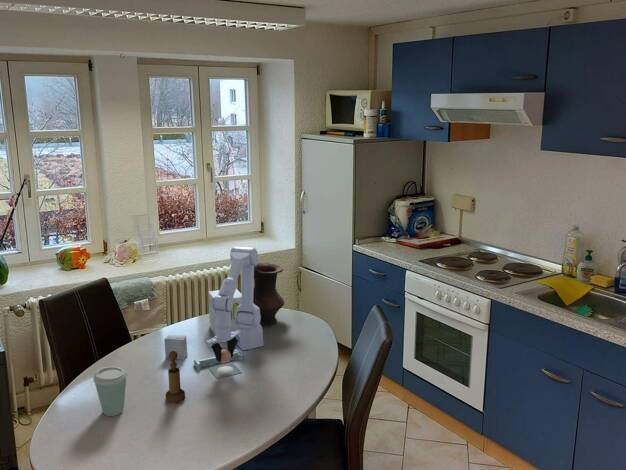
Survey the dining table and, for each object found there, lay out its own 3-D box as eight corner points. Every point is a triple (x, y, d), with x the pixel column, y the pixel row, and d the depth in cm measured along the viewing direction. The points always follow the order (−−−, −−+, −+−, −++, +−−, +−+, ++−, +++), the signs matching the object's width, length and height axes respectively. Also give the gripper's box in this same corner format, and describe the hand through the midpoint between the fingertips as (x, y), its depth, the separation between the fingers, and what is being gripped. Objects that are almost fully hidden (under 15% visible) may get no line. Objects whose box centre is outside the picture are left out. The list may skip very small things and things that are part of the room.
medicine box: (187, 354, 239) (186, 335, 237) (184, 359, 234) (183, 339, 232) (169, 354, 239) (167, 334, 237) (165, 358, 235) (164, 338, 233)
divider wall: (236, 355, 238) (236, 349, 238) (241, 360, 234) (241, 354, 234) (194, 364, 230) (193, 359, 229) (198, 369, 226) (197, 364, 225)
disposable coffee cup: (129, 401, 202) (125, 361, 199) (130, 417, 193) (127, 375, 189) (96, 406, 199) (92, 366, 195) (96, 423, 189) (92, 381, 186)
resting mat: (232, 362, 232) (232, 362, 232) (242, 372, 223) (242, 372, 223) (208, 368, 227) (208, 367, 227) (217, 378, 219) (217, 378, 219)
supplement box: (216, 337, 255) (214, 300, 251) (209, 327, 267) (207, 291, 263) (245, 333, 260) (244, 296, 256) (237, 322, 272) (236, 287, 268)
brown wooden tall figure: (168, 405, 200) (165, 357, 196) (163, 397, 205) (160, 350, 201) (187, 401, 203) (184, 353, 199) (182, 392, 208) (179, 346, 204)
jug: (260, 312, 286) (258, 253, 278) (292, 319, 277) (291, 258, 270) (233, 326, 268) (231, 264, 261) (266, 334, 259) (265, 270, 252)
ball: (225, 358, 228) (225, 346, 227) (233, 362, 224) (233, 350, 223) (215, 361, 224) (215, 349, 223) (223, 366, 221) (223, 353, 220)
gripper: (232, 317, 228) (233, 349, 232) (201, 327, 219) (202, 360, 222) (243, 322, 224) (244, 355, 227) (212, 333, 214) (213, 367, 217)
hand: (224, 358), depth 224 cm, fingers closed on ball, 5 cm apart
